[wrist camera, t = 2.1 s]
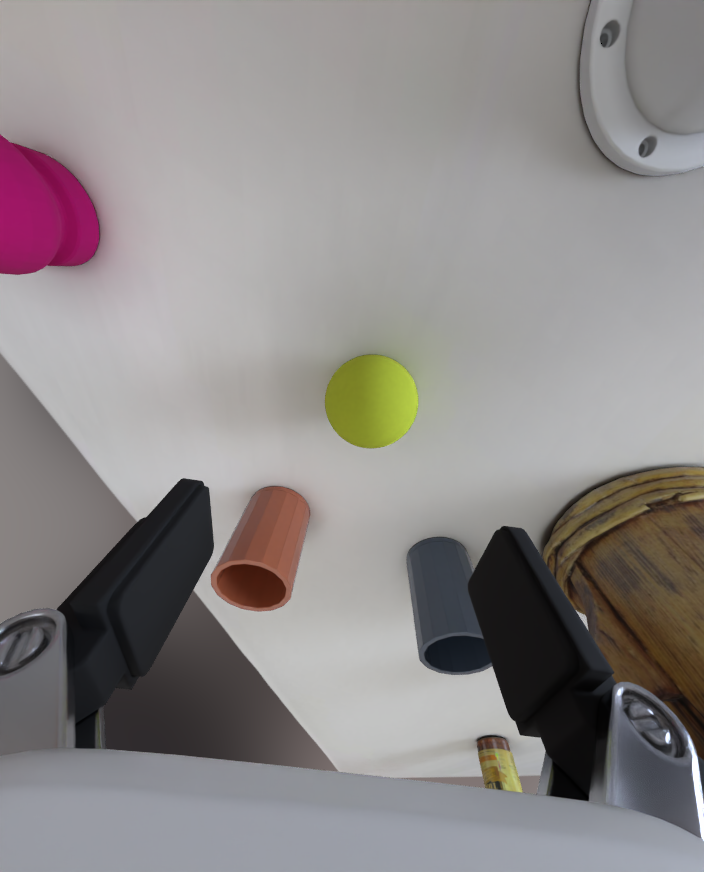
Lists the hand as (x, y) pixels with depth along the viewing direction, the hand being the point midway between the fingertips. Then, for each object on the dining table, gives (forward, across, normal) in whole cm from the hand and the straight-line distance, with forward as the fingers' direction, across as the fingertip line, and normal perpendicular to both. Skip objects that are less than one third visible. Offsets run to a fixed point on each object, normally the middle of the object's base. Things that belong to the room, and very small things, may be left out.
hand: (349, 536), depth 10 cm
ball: (+14, -1, 0) cm, 14 cm away
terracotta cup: (+17, +6, +16) cm, 24 cm away
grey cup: (+17, -13, +20) cm, 29 cm away
